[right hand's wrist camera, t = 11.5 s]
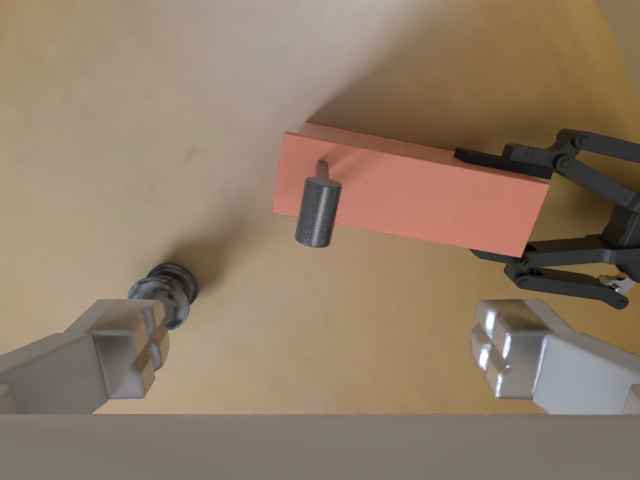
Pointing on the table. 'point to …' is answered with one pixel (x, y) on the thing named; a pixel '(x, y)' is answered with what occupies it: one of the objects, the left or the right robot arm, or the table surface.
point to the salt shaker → (168, 293)
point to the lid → (402, 197)
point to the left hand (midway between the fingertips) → (449, 193)
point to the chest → (392, 146)
